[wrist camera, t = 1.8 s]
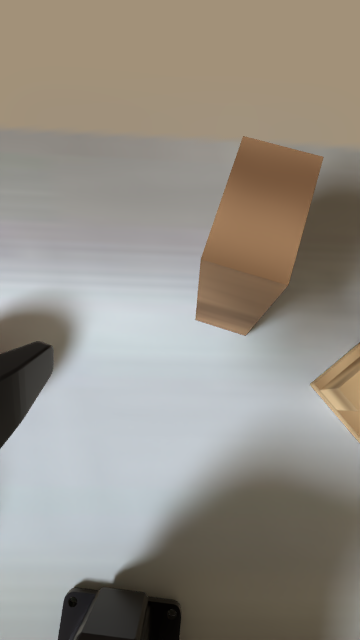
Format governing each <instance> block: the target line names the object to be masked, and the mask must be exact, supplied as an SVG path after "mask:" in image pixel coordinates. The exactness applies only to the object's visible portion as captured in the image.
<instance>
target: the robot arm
mask: <svg viewBox="0 0 360 640" xmlns="http://www.w3.org/2000/svg"><path fill="white" fill-rule="evenodd" d="M52 371H53V347H52V346H51V345H49V344H47V343H44V342H40V341H37V342H33V343H31V344H28V345H25V346H22V347H19V348H16V349H13V350H11V351H8V352H5V353H2V354H0V449H1V447H2V446H3V445H4V443H5V442H6V441H7V440H8V438H9V437H10V436H11V435H12V433H13V432H14V431H15V430H16V428H17V427H18V426H19V424H20V423H21V422H22V420H23V419H24V417H25V416H26V414H27V413H28V411H29V409H30V408H31V406H32V405H33V403H34V401H35V400H36V398H37V397H38V395H39V393H40V392H41V390H42V389H43V387H44V386H45V384H46V382H47V381H48V379H49V378H50V376H51V374H52ZM71 597H75V598H76V599H77V603H72V602H71ZM170 609H173V610H175V611H176V614H175V615H173V616H171V615H169V613H168V611H169V610H170ZM180 623H181V607H180V604H179V603H178V602H177V601H175V600H170V599H162V598H154V597H148V596H147V595H146V594H145V593H144V592H137V591H129V590H121V589H113V588H105V587H103V588H101V589H100V590H99V591H98V590H90V589H82V588H72V589H71V590H70V591H69V592H68V593H67V595H66V596H65V599H64V603H63V609H62V616H61V623H60V629H59V636H58V640H179V635H180Z"/></svg>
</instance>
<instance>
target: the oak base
mask: <svg viewBox="0 0 360 640" xmlns="http://www.w3.org/2000/svg"><path fill="white" fill-rule="evenodd" d="M310 385H311V386H312V388H313V389H314V390H315V391H316V392H317V393H318V395H319V396H320V397H321V398H322V399H323V400H324V402H325V403H326V404H327V405H328V406H329V408H330V409H331V410H332V411H333V412H334V413H335V415H336V416H337V417H338V418H339V419H340V420H341V422H342V423H343V424H344V425H345V426H346V428H347V429H348V430H349V431H350V432H351V433H352V435H353V436H354V437H355V438H356V439H357V440H358V442H359V443H360V343H359V344H358V345H356V346H355V347H354V348H353V349H352V350H350V351H349V352H348V353H347V354H346V355H344V356H343V357H342V358H341V359H340V360H338V361H337V362H336V363H335V364H334V365H332V366H331V367H330V368H329V369H327V370H326V371H325V372H324V373H323V374H321V375H320V376H319V377H318V378H317V379H315V380H314V381H313V382H312V383H311V384H310Z"/></svg>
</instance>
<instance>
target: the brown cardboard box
mask: <svg viewBox="0 0 360 640" xmlns="http://www.w3.org/2000/svg"><path fill="white" fill-rule="evenodd" d="M322 161H323V157H322V156H318V155H314V154H310V153H306V152H302V151H299V150H295V149H291V148H287V147H283V146H279V145H275V144H272V143H268V142H264V141H260V140H256V139H252V138H248V137H245V136H243V138H242V141H241V144H240V147H239V150H238V153H237V156H236V159H235V161H234V164H233V167H232V170H231V173H230V176H229V179H228V182H227V185H226V188H225V191H224V193H223V196H222V199H221V202H220V205H219V208H218V211H217V214H216V217H215V220H214V223H213V225H212V228H211V231H210V234H209V237H208V240H207V243H206V246H205V249H204V252H203V255H202V257H201V263H200V274H199V286H198V297H197V308H196V319H195V320H198V321H201V322H204V323H207V324H210V325H213V326H216V327H220V328H223V329H226V330H229V331H232V332H235V333H238V334H242V335H245V336H246V334H247V333H248V332H249V331H250V330H251V329H252V327H253V326H254V325H255V324H256V323H257V322H258V320H259V319H260V318H261V317H262V316H263V314H264V313H265V312H266V311H267V310H268V309H269V307H270V306H271V305H272V304H273V303H274V302H275V300H276V299H277V298H278V297H279V296H280V295H281V293H282V292H283V291H284V290H285V289H286V287H287V286H288V284H289V281H290V277H291V273H292V270H293V266H294V262H295V259H296V255H297V252H298V248H299V244H300V241H301V237H302V233H303V230H304V226H305V223H306V219H307V215H308V212H309V208H310V204H311V201H312V197H313V194H314V190H315V186H316V183H317V179H318V175H319V172H320V168H321V164H322Z"/></svg>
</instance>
